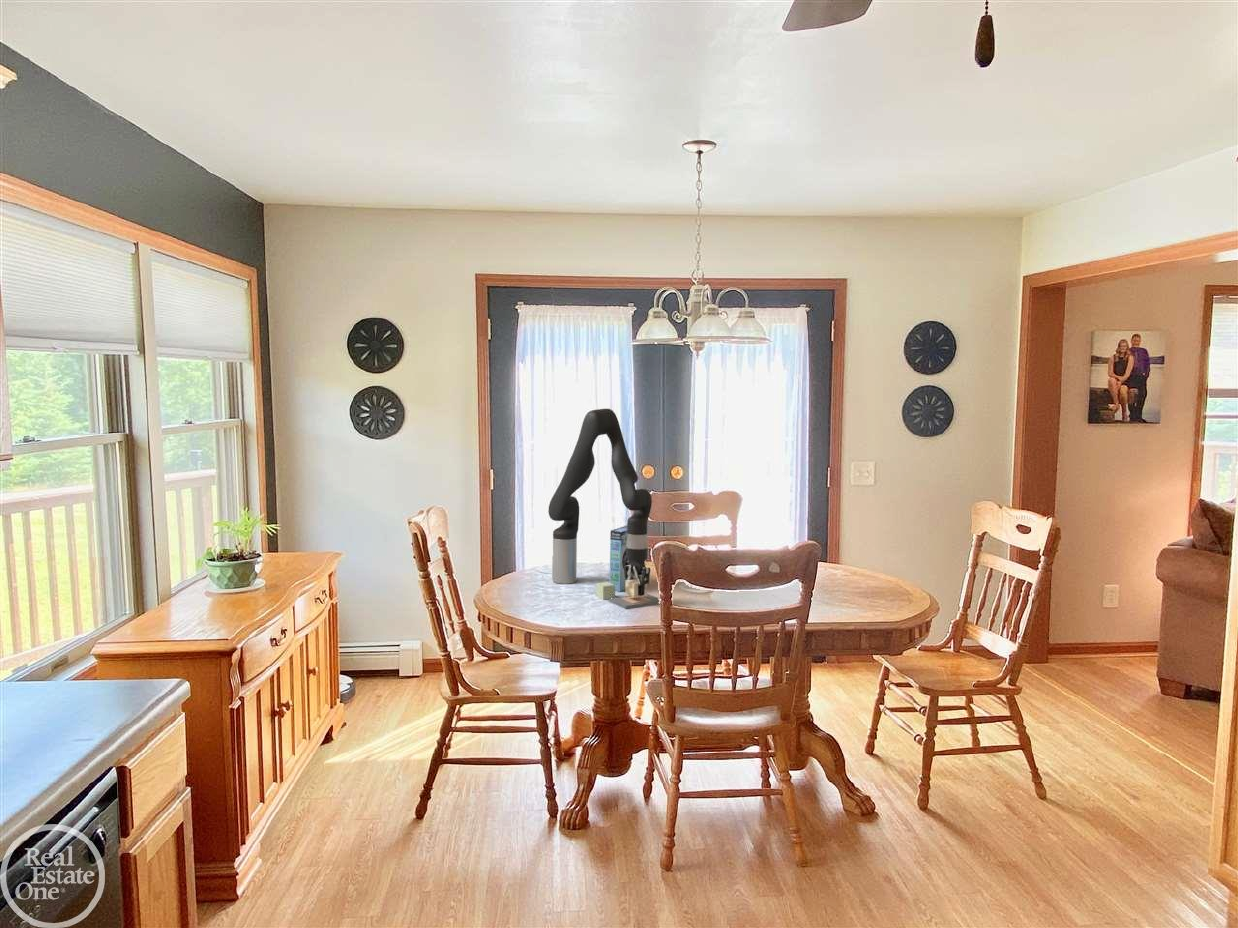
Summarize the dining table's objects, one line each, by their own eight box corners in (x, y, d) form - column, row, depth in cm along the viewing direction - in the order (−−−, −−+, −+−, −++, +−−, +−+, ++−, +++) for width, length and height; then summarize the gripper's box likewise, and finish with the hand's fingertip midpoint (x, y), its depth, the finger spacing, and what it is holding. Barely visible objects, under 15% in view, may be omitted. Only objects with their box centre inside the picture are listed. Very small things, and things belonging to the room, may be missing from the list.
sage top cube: (595, 597, 293) (596, 583, 293) (607, 595, 296) (607, 581, 295) (603, 600, 289) (603, 586, 288) (615, 598, 292) (615, 584, 291)
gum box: (631, 580, 320) (632, 522, 318) (643, 581, 318) (644, 523, 316) (608, 590, 303) (609, 530, 301) (620, 592, 300) (621, 531, 298)
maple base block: (625, 594, 287) (625, 580, 286) (638, 592, 290) (638, 578, 289) (633, 597, 282) (634, 583, 282) (646, 595, 285) (647, 581, 285)
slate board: (608, 601, 287) (608, 598, 287) (646, 595, 295) (646, 592, 295) (625, 608, 277) (625, 605, 277) (663, 602, 286) (663, 599, 286)
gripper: (657, 548, 280) (656, 596, 282) (634, 541, 293) (634, 587, 294) (639, 550, 276) (638, 599, 278) (617, 543, 289) (616, 590, 290)
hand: (636, 593), depth 286 cm, fingers closed on maple base block, 5 cm apart
